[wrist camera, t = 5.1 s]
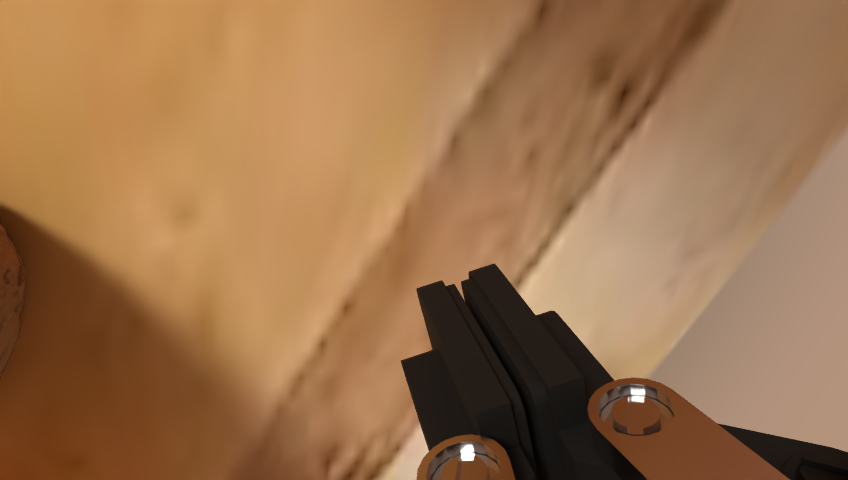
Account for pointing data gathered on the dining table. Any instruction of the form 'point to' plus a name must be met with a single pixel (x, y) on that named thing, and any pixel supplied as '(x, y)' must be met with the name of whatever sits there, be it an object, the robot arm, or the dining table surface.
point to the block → (10, 296)
